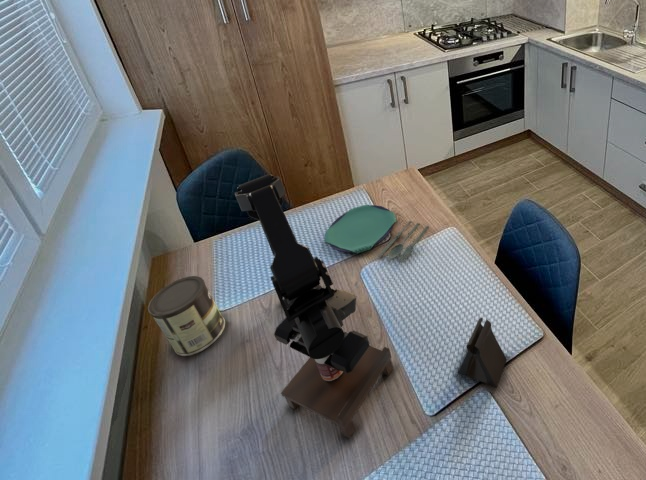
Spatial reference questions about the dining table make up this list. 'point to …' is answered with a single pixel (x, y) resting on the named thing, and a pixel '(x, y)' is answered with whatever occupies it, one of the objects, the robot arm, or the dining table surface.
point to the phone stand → (483, 356)
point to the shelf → (338, 388)
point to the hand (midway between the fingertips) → (331, 363)
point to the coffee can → (187, 315)
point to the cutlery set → (367, 231)
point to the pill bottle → (327, 370)
